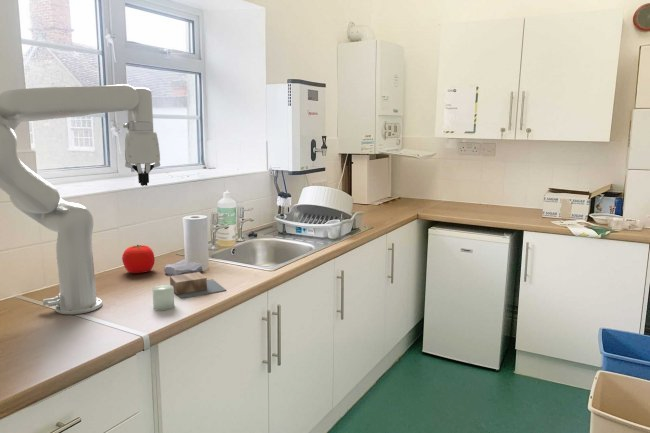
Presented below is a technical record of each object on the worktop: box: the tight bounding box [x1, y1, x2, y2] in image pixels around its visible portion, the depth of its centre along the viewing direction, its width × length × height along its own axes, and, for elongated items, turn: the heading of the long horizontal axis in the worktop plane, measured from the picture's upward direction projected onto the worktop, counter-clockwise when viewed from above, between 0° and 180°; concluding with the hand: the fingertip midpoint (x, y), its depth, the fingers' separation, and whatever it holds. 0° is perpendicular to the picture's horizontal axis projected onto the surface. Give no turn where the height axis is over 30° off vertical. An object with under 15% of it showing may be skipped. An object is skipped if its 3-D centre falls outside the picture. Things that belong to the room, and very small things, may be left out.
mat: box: [176, 278, 227, 299], centre depth 167 cm, size 15×14×1 cm
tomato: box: [121, 244, 156, 274], centre depth 185 cm, size 11×12×10 cm
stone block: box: [164, 258, 203, 276], centre depth 186 cm, size 12×5×10 cm
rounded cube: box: [152, 284, 175, 311], centre depth 150 cm, size 6×6×6 cm
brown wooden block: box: [169, 272, 208, 295], centre depth 165 cm, size 4×8×10 cm
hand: (143, 185), depth 161 cm, fingers closed
